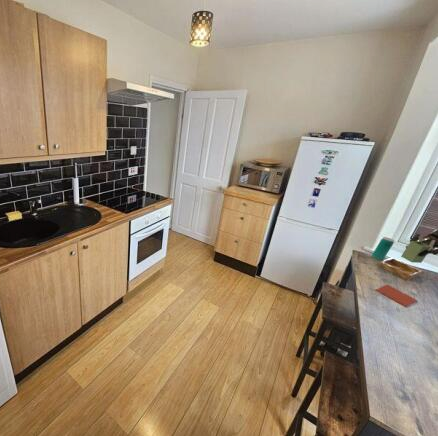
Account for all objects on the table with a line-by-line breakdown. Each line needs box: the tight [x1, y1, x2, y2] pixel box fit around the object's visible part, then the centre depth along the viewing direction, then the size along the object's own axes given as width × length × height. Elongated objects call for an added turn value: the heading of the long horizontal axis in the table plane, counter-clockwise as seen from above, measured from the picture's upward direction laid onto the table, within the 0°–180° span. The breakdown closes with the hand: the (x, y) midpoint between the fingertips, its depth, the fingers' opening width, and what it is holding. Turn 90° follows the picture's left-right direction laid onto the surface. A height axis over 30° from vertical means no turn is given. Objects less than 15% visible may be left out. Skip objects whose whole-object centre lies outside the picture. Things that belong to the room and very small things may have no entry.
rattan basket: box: [378, 257, 423, 281], centre depth 138 cm, size 14×14×4 cm
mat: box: [375, 284, 418, 308], centre depth 118 cm, size 12×12×1 cm
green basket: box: [400, 241, 430, 264], centre depth 124 cm, size 6×6×10 cm
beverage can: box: [371, 236, 395, 262], centre depth 146 cm, size 6×6×15 cm
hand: (412, 252), depth 124 cm, fingers closed on green basket, 5 cm apart
